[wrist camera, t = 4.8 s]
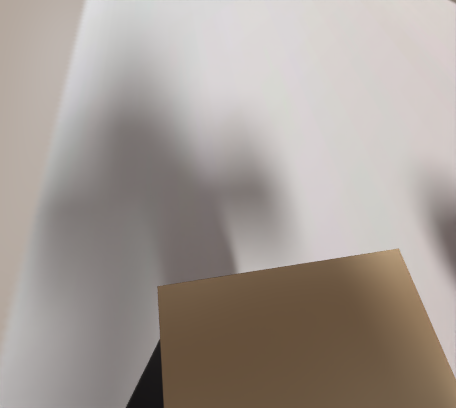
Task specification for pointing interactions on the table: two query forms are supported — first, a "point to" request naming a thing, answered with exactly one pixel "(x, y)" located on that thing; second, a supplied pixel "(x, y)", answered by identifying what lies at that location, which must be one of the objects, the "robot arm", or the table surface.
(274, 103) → the table surface
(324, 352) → the tall oak block
